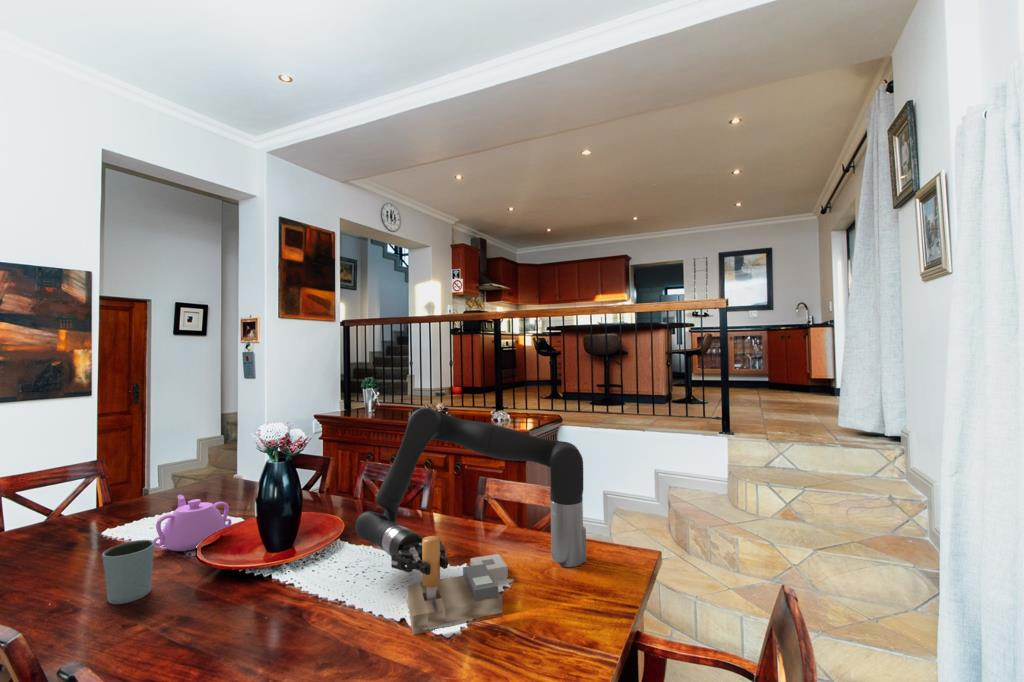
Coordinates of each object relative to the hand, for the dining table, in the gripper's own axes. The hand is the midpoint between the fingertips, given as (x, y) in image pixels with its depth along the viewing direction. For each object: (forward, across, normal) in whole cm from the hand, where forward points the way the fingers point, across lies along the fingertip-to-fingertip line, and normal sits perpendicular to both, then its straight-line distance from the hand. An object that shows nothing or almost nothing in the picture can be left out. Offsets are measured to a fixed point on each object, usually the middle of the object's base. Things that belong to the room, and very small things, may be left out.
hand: (437, 567), depth 106 cm
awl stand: (-7, +20, +11) cm, 24 cm away
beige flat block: (-1, +5, +11) cm, 12 cm away
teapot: (-91, -37, +12) cm, 99 cm away
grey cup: (-61, -53, +12) cm, 82 cm away
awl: (-3, 0, +10) cm, 10 cm away
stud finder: (+2, +11, +7) cm, 13 cm away
